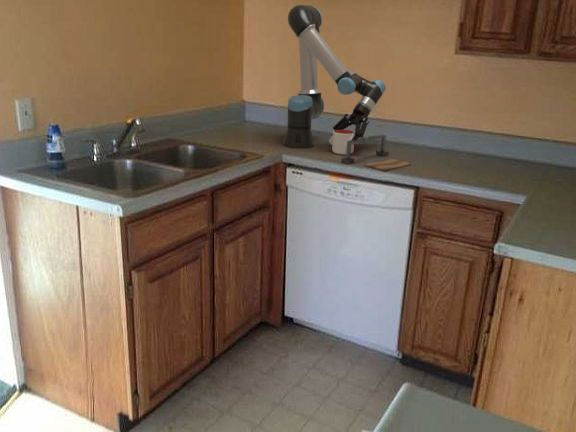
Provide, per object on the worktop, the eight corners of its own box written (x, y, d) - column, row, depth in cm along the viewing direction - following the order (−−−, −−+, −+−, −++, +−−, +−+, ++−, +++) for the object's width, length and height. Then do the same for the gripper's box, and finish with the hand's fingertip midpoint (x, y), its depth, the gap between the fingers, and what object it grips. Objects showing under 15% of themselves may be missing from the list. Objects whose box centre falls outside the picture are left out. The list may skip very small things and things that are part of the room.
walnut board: (364, 166, 234) (364, 164, 234) (390, 160, 246) (390, 158, 245) (385, 171, 226) (385, 169, 226) (410, 165, 238) (410, 163, 238)
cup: (352, 156, 250) (353, 134, 247) (330, 154, 252) (332, 133, 248) (354, 151, 259) (355, 130, 256) (333, 149, 261) (334, 129, 258)
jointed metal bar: (340, 162, 239) (342, 140, 235) (380, 153, 256) (382, 133, 253) (348, 164, 235) (350, 142, 232) (388, 155, 253) (390, 135, 250)
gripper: (385, 117, 252) (360, 154, 247) (349, 110, 267) (325, 145, 263) (379, 106, 246) (353, 144, 242) (342, 100, 262) (317, 135, 257)
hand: (338, 145), depth 252 cm, fingers closed on cup, 10 cm apart
